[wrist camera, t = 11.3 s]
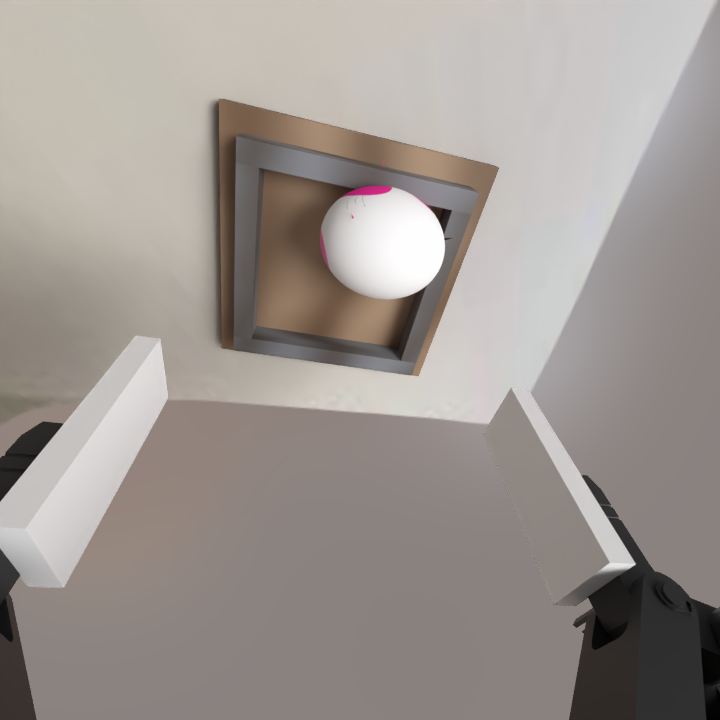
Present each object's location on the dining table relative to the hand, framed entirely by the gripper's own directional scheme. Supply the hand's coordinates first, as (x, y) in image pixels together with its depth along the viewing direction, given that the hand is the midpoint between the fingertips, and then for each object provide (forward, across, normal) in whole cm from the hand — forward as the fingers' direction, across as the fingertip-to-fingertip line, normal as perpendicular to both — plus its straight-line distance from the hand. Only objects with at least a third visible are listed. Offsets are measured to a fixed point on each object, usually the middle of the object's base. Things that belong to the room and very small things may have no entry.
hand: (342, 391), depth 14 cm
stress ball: (+13, 0, +1) cm, 13 cm away
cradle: (+14, 0, -1) cm, 14 cm away
